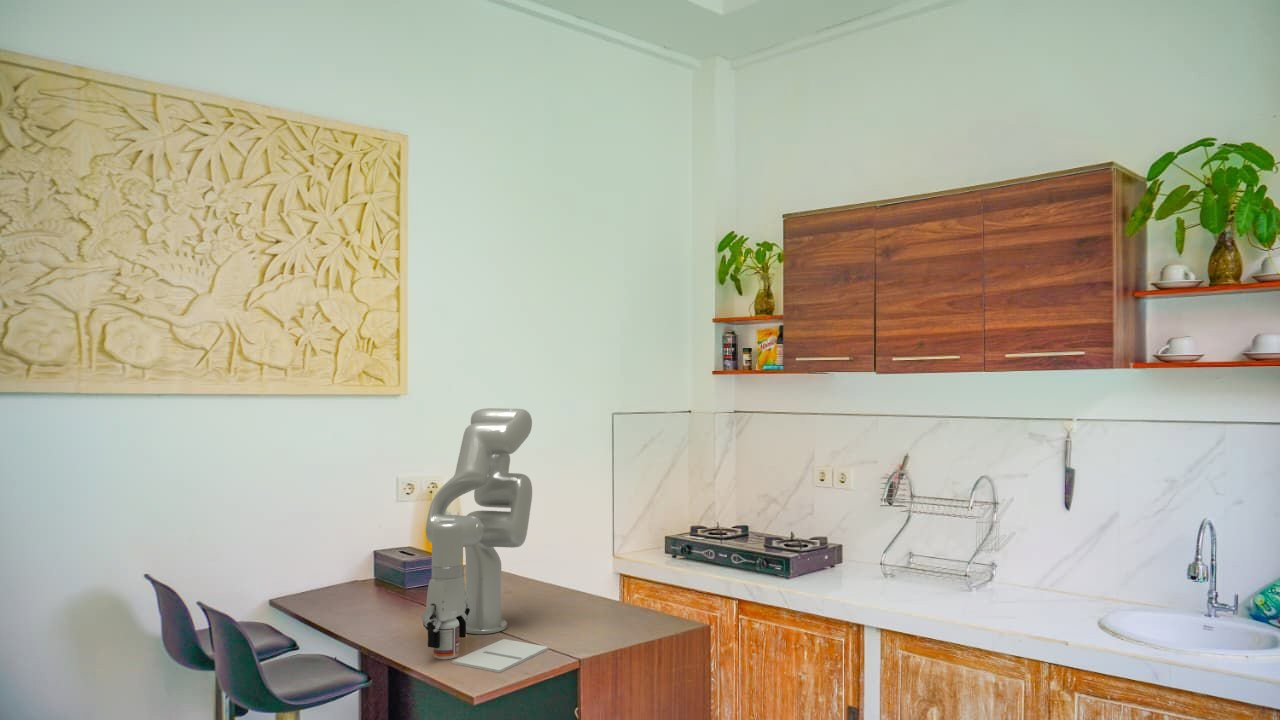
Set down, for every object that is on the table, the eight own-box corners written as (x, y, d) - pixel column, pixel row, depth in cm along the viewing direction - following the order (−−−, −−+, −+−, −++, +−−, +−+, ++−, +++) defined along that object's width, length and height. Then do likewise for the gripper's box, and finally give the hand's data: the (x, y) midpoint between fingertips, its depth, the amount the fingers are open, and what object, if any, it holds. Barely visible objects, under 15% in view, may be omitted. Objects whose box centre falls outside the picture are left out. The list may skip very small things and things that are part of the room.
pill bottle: (449, 650, 227) (449, 605, 227) (464, 655, 222) (464, 609, 222) (428, 656, 222) (428, 609, 222) (443, 661, 218) (443, 614, 218)
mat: (452, 663, 217) (452, 660, 217) (503, 641, 234) (503, 638, 234) (499, 672, 210) (499, 669, 210) (548, 649, 228) (548, 646, 228)
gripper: (458, 563, 232) (458, 631, 232) (411, 577, 217) (410, 649, 217) (481, 566, 229) (481, 635, 228) (435, 580, 213) (435, 654, 213)
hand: (447, 642), depth 223 cm, fingers open, 9 cm apart
